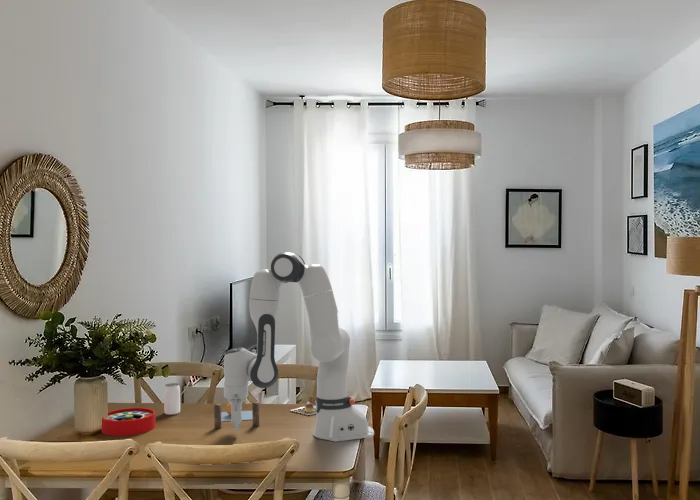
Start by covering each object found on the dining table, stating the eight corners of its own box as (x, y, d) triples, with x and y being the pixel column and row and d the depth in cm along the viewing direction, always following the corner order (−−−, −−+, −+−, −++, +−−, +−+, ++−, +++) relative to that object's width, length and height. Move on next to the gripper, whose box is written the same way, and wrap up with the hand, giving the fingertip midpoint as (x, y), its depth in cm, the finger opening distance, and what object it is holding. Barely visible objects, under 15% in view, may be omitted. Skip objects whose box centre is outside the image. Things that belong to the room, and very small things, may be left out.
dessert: (329, 412, 288) (329, 400, 288) (308, 417, 279) (308, 406, 279) (310, 407, 296) (310, 396, 296) (289, 412, 288) (289, 401, 287)
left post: (221, 426, 265) (221, 403, 265) (221, 428, 263) (220, 405, 263) (214, 427, 265) (214, 404, 265) (214, 428, 262) (213, 405, 262)
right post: (259, 424, 268) (258, 401, 268) (259, 426, 265) (259, 403, 265) (252, 424, 267) (252, 402, 267) (252, 426, 265) (252, 403, 265)
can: (176, 415, 284) (175, 386, 283) (161, 414, 285) (161, 386, 285) (182, 411, 290) (182, 383, 290) (168, 410, 291) (168, 382, 291)
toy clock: (160, 416, 261) (105, 423, 252) (160, 431, 261) (105, 439, 252) (149, 405, 279) (97, 411, 269) (149, 419, 279) (98, 426, 269)
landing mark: (254, 410, 289) (254, 410, 289) (254, 419, 275) (254, 419, 275) (220, 412, 287) (220, 412, 287) (219, 421, 273) (219, 421, 273)
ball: (241, 398, 284) (241, 406, 278) (240, 411, 286) (240, 419, 280) (226, 398, 283) (226, 406, 277) (225, 411, 284) (225, 419, 279)
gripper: (244, 398, 242) (245, 436, 242) (244, 385, 262) (245, 421, 263) (226, 399, 241) (227, 437, 241) (227, 386, 261) (228, 422, 262)
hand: (236, 429), depth 252 cm, fingers closed
